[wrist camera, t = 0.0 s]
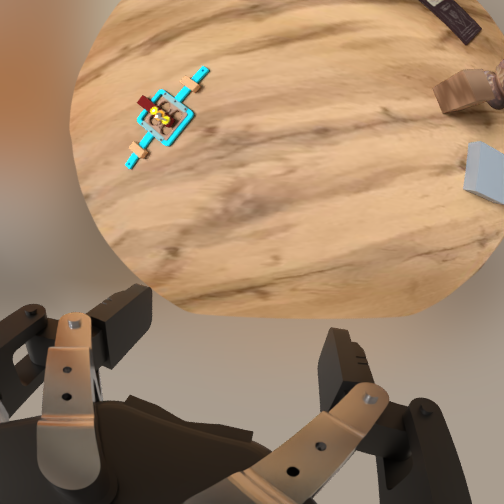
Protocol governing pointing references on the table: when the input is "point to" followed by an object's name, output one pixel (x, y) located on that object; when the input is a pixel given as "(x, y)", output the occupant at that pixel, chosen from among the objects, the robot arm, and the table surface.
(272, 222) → the table surface
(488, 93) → the walnut block
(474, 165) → the slate-blue block
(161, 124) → the gear mechanism
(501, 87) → the mortar and pestle
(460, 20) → the chocolate bar
